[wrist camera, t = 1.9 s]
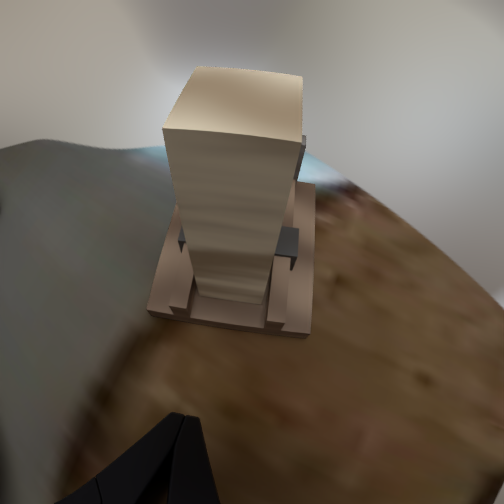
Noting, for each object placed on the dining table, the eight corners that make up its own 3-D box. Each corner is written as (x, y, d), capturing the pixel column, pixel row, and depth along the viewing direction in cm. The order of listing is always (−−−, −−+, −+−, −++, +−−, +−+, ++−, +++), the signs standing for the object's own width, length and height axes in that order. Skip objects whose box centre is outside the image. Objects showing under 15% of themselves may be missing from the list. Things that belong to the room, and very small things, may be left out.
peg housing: (305, 338, 23) (335, 306, 16) (150, 315, 23) (120, 275, 16) (311, 194, 30) (330, 136, 23) (189, 178, 30) (182, 118, 23)
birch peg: (261, 304, 22) (301, 142, 9) (199, 295, 22) (162, 128, 9) (267, 250, 25) (302, 76, 11) (210, 242, 25) (196, 66, 11)
